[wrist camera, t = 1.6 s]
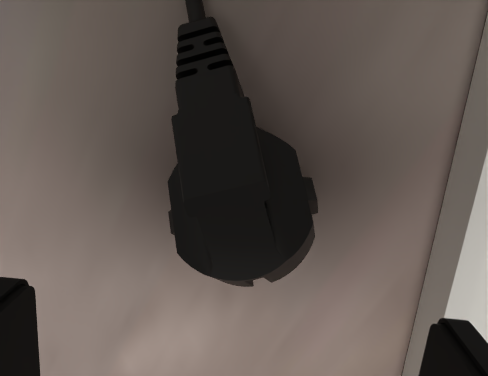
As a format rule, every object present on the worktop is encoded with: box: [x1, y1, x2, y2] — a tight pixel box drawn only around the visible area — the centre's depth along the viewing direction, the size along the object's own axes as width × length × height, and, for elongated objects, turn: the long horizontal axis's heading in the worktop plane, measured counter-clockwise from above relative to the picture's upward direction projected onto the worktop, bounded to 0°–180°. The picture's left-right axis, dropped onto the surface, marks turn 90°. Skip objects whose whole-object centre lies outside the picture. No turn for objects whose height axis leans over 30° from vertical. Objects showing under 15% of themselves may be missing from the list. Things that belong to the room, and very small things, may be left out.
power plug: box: [168, 0, 318, 287], centre depth 18 cm, size 6×8×12 cm
